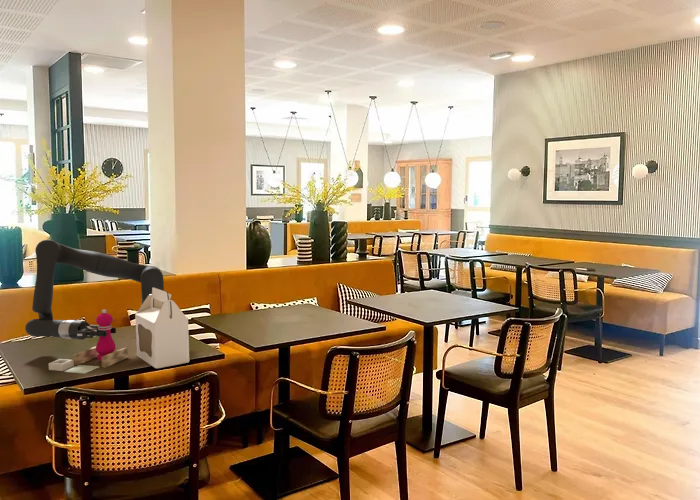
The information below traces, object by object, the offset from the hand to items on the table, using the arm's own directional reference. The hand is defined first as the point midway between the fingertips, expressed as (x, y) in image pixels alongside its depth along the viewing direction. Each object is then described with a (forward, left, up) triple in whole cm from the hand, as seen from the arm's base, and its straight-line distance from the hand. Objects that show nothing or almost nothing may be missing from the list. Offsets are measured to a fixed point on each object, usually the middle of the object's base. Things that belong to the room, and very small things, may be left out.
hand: (110, 332), depth 227 cm
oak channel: (+3, -3, -11) cm, 12 cm away
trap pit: (+14, -12, -11) cm, 21 cm away
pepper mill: (0, -3, -11) cm, 11 cm away
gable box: (-5, +19, -11) cm, 23 cm away
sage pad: (+14, -3, -11) cm, 18 cm away
